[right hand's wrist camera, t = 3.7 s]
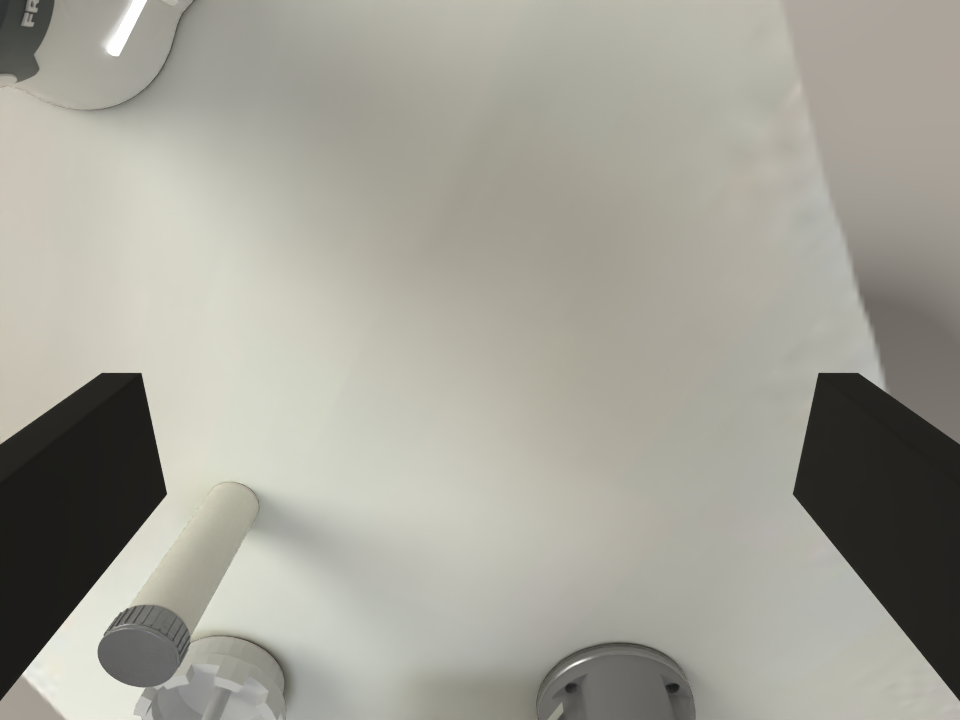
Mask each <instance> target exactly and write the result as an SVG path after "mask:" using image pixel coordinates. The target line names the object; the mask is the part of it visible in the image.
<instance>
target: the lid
mask: <svg viewBox="0 0 960 720" xmlns="http://www.w3.org/2000/svg"><path fill="white" fill-rule="evenodd" d="M190 638H191V636H190V633H189V630H188V628H187V626H186V624H185V623H184V622H183V621H182V619H181V618H179V617H178V616H177V615H176V614H174V613H173V612H171V611H169V610H167V609H165V608H162V607H159V606H154V605H137V606H133V607H131V608H127V609H126V610H125V611H123V612H120V614H119V615H118V616H117V617H116V618H115V619H114V621H113V622H112V624H111V625H110V626H109V628H108V629H107V631H106V632H105V633H104V637H103V638H102V640H101V642H100V644H99V646H98V658H99V661H100V663H101V665H102V667H103V668H104V669H105V671H106V672H107V673H108V674H110V675H111V676H112V677H113V678H115V679H117V680H118V681H120V682H122V683H125V684H128V685H131V686H136V687H154V686H158V685H161V684H163V683H165V682H167V681H168V680H169V679H170V678H171V677H172V676H173V675H174V673H175V672H176V671H177V669H178V668H179V667H180V665H181V663H182V661H183V659H184V658H185V656H186V654H187V652H188V650H189V649H188V648H189V646H190V644H191V643H190Z"/></svg>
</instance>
